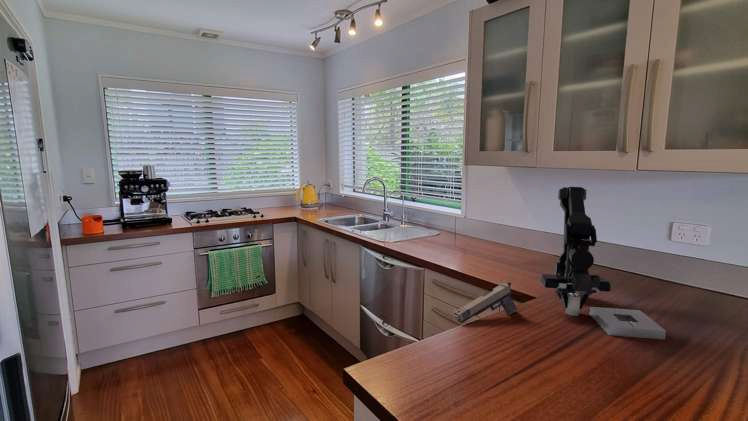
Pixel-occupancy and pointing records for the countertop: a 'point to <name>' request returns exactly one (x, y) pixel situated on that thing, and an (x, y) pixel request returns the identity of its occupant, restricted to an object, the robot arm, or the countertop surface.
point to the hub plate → (627, 323)
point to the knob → (573, 304)
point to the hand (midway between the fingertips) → (572, 308)
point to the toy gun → (488, 303)
